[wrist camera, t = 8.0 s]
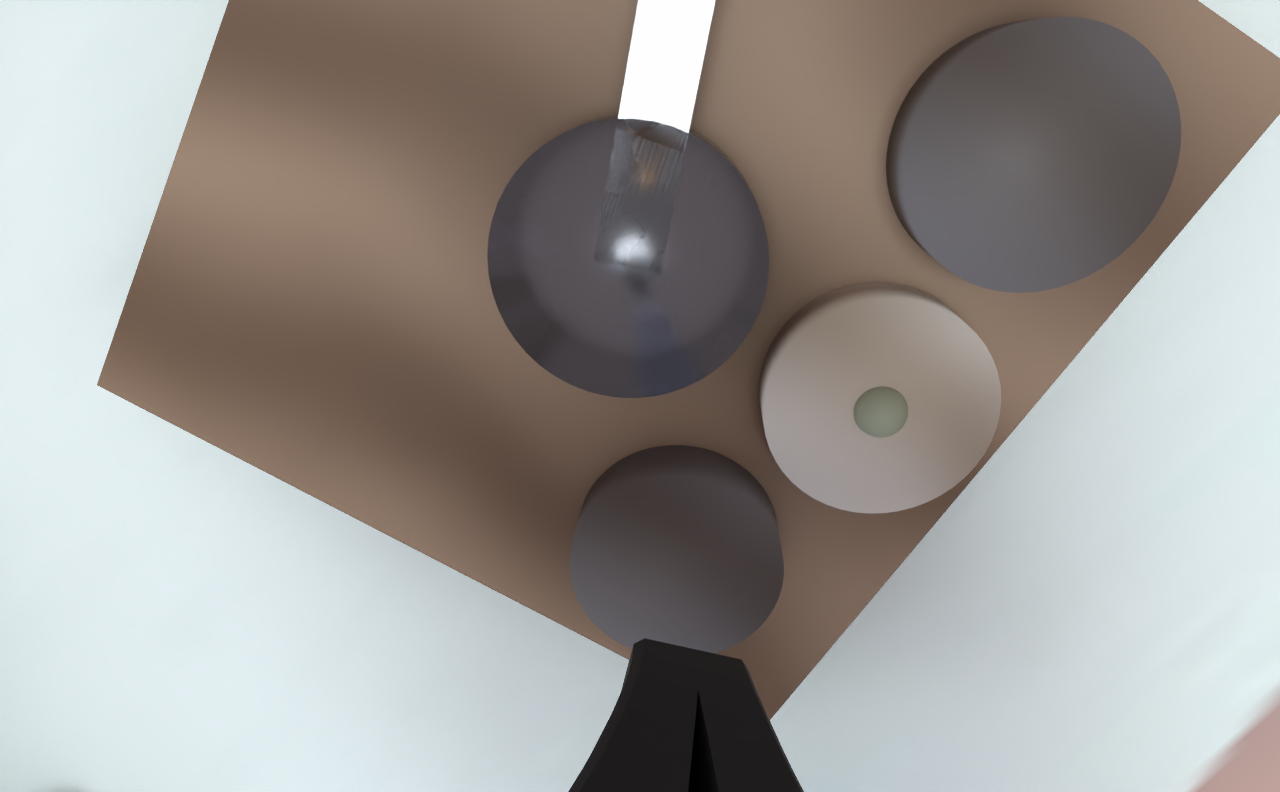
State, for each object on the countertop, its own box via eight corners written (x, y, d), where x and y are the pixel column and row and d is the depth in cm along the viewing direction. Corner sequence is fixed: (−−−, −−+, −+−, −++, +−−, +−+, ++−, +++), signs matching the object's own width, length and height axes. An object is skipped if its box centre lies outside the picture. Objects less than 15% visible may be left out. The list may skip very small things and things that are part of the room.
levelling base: (758, 686, 22) (767, 784, 19) (139, 362, 20) (39, 415, 17) (1255, 77, 16) (1383, 80, 13) (446, -487, 14) (374, -641, 11)
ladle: (731, 397, 17) (739, 491, 13) (487, 348, 17) (427, 429, 13) (879, -195, 13) (949, -297, 9) (565, -260, 13) (511, -388, 9)
